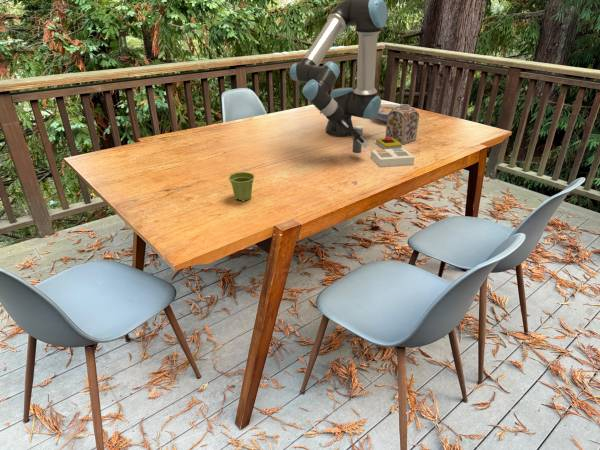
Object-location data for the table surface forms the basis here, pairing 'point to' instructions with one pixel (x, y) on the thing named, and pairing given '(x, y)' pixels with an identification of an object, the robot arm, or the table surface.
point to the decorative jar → (402, 124)
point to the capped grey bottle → (356, 144)
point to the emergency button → (388, 143)
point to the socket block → (392, 157)
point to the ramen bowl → (385, 111)
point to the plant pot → (242, 185)
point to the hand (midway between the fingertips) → (365, 144)
